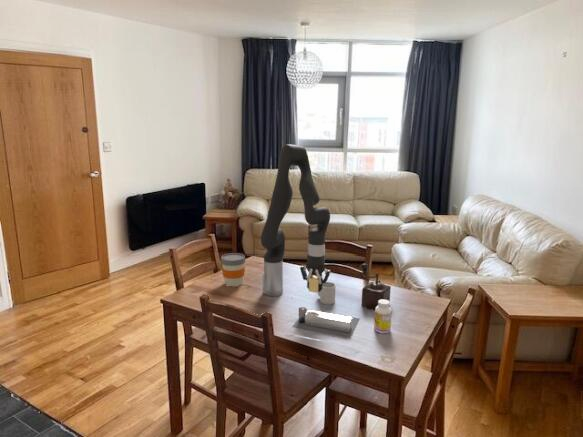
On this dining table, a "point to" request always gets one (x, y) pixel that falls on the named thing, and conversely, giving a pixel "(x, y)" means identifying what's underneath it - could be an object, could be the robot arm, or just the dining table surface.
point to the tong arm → (331, 316)
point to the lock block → (313, 284)
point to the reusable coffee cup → (233, 268)
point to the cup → (327, 293)
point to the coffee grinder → (373, 291)
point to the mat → (328, 331)
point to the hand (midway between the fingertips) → (314, 289)
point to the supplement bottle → (383, 316)
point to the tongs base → (323, 321)
